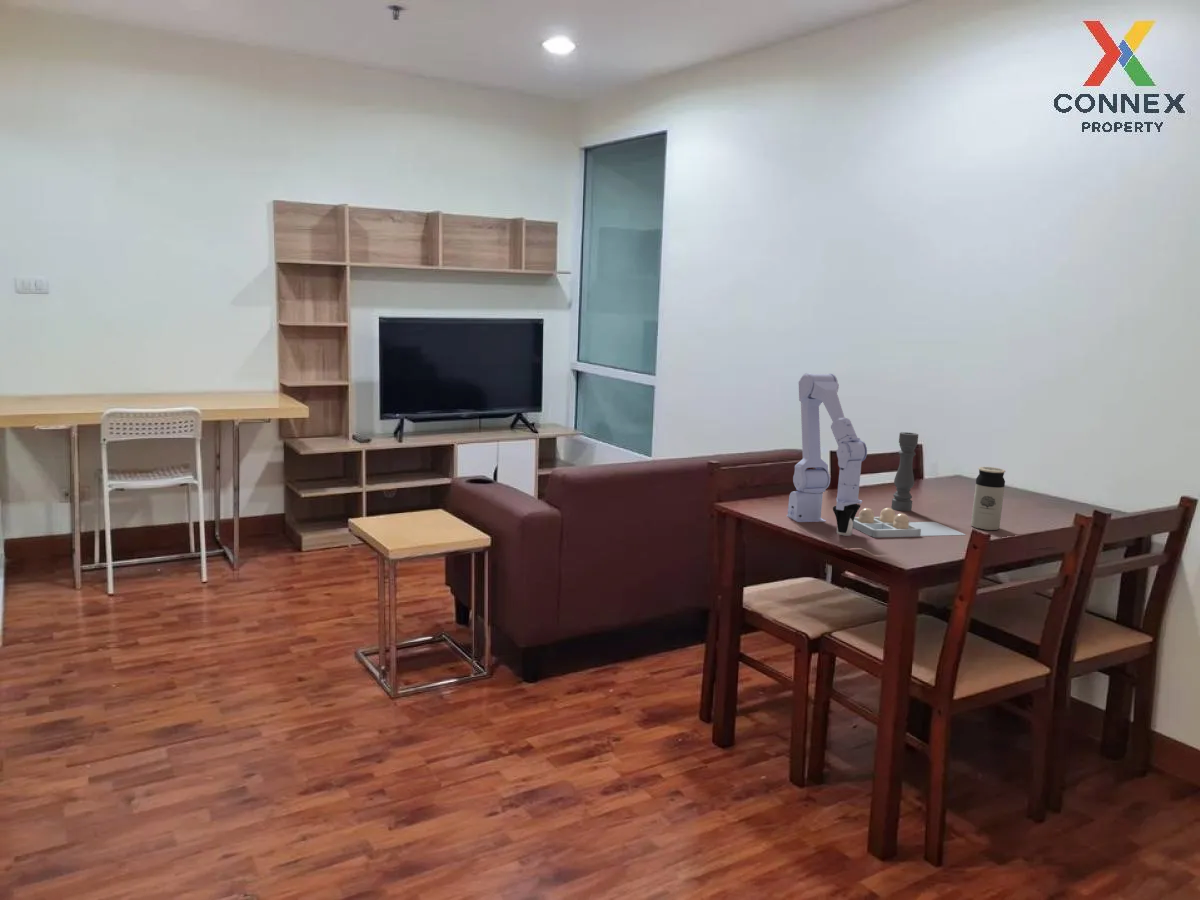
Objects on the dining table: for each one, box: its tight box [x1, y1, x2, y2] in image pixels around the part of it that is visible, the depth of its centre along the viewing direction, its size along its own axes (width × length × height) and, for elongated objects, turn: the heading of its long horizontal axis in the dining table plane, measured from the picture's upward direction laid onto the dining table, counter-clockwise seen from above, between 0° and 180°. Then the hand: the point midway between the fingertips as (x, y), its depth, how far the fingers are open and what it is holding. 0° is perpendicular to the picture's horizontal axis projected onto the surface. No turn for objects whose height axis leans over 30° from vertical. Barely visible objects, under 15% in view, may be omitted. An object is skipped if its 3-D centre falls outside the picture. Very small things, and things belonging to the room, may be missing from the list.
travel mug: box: [970, 466, 1006, 531], centre depth 271 cm, size 8×8×18 cm
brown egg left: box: [858, 507, 875, 523], centre depth 264 cm, size 4×4×6 cm
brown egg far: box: [879, 507, 896, 523], centre depth 266 cm, size 4×4×6 cm
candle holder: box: [890, 431, 919, 512], centre depth 289 cm, size 6×6×25 cm
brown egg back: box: [893, 512, 910, 529], centre depth 259 cm, size 4×4×6 cm
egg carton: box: [852, 516, 967, 538], centre depth 264 cm, size 30×15×2 cm, turn 104°
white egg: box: [836, 518, 854, 537], centre depth 255 cm, size 4×4×6 cm
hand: (844, 530), depth 256 cm, fingers closed on white egg, 4 cm apart
